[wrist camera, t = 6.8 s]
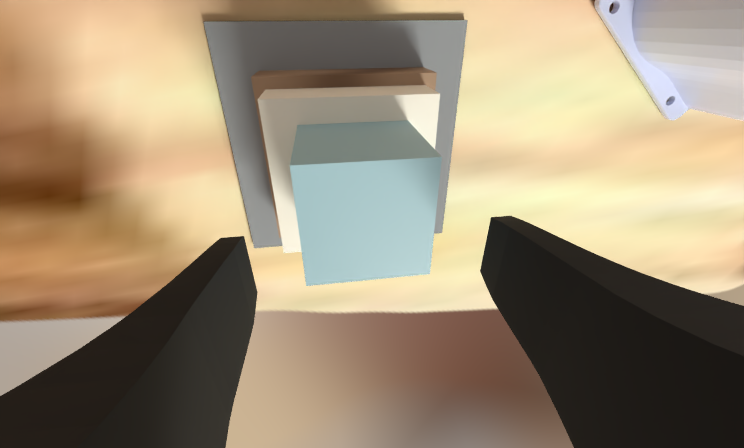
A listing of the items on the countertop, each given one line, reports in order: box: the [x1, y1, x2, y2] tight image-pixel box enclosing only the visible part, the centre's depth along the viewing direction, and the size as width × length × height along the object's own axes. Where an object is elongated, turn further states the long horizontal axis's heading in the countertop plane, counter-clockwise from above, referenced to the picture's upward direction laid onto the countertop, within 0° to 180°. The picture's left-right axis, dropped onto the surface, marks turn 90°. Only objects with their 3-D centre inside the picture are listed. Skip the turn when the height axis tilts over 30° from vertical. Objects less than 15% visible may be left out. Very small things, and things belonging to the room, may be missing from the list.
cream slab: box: [258, 85, 440, 253], centre depth 16 cm, size 7×7×2 cm
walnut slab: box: [251, 67, 437, 238], centre depth 17 cm, size 8×8×2 cm
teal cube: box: [290, 120, 442, 286], centre depth 13 cm, size 4×4×4 cm
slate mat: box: [204, 20, 467, 248], centre depth 19 cm, size 12×12×1 cm
